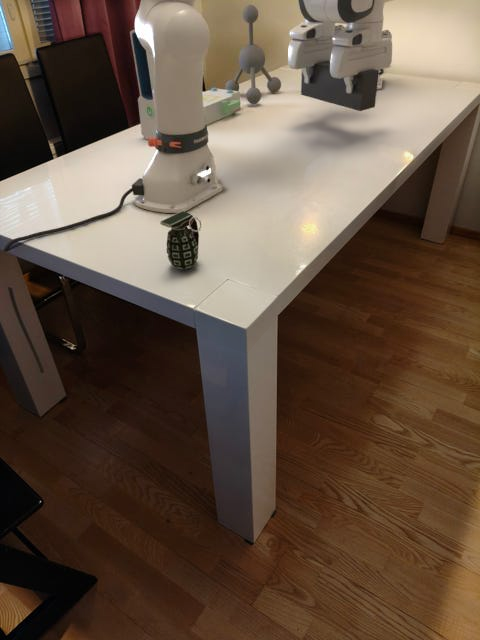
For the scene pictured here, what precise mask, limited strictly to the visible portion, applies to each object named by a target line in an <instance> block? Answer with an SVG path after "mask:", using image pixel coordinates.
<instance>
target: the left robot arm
mask: <svg viewBox="0 0 480 640" xmlns="http://www.w3.org/2000/svg"><path fill="white" fill-rule="evenodd" d="M385 1H386V0H298V6H299V10H300V13H301V15H302V17H303V19H304V18H305V19H306V20H307V21H309V22H329V23H335V24H341V25H343V24H344V25H345V24H346V26H344V27H345V28H344V29H343V28H342V29H343V30H341V31H340V32H338V33H337V34H335V35H334V36H333V40H332V42H333V44H335V46H334V47H333V49H332V52H331V59H330V74H331V76H332V77H334V78H339V79H340V78H344V81H345V84H346V92H347V93H353V92H354V89H355V86H353V85H352V81H351V80H353V75H358V73H359V72H363V71H368V70H372V69H375V70H379V71H381V70H380V69H383V70H385V69H388V68H389V67H390V66H391V64H392V59H393V40H392V39H393V35H392V33H391V31H390V30H389V29H384V30H383V28H384V18H385V17H384V7H385V4H386V2H385ZM195 3H196V0H140V3H139V8H138V10H137V13H136V15H135V19H134V29H135V31H136V34H137V37H138V39H139V41H140V43H141V45H142V46H143V48H144V49H145V50H146V51H147V52H149V53H150V54H152V55H153V57H154V64H155V82H154V90H153V101H154V108H155V114H156V121H157V128H158V129H157V130H156V138H152V137H150V138H149V139H147V146H149V147H151V148H152V147H154V148H155V151H154V153H153V155H152V157H151V159H150V162H149V163H148V165H147V167H146V169H145V172H144V173H143V176H142V178H138V179H137V180H136V181H134V182H133V183H132V184H131V188H129V189H128V190H127V191H125V193H124V194H123V195H122V196H121V198H120V201H119V204H118V206H117V207H116V208H114V209H112V210H111V211H109V212H106V213H102V214H98V215H95V216H92V217H90V218H86V219H84V220H80V221H78V222H74V223H71V224H68V225H64V226H60V227H56V228H51V229H47V230H43V231H38V232H35V233H32V234H28V235H23V236H19V237H16V238H13V239H11V240H10V241H8V242H7V243H6V244H5V246H4V248H3V250H2V252H3V253H5V252H8V251H9V250H10V248H11V246H13V245H14V244H16V243H18V242H23V241H27V240H30V239H33V238H37V237H42V236H46V235H49V234H55V233H59V232H63V231H66V230H70V229H73V228H76V227H79V226H80V227H81V226H83V225H86V224H89V223H91V222H94V221H97V220H100V219H103V218H107V217H110V216H113V215H114V214H116V213H118V212H119V211H120V210H121V209H122V207H123V206H124V202H125V200H126V198H127V197H128V196H129V195H130V194H132V195H133V196H137V197H135V199H134V205H135V206H137V207H138V208H140V209H142V210H143V209H144V210H147V211H151V212H157V213H164V214H177V213H179V212H181V211H184V212H187V211H189V210H190V209H193V208H194V207H196V206H198V205H199V204H201V203H203V202H205V201H207V200H208V199H210V198H212V197H214V196H215V195H217V194H219V193H220V192H222V191H223V185H222V184H220V183H219V180H218V174H217V168H216V163H215V156H214V155H213V153H212V152H211V149H210V147H209V145H208V143H209V130H208V126H207V125H205V119H204V107H203V93H202V92H203V84H204V72H205V62H206V55H207V53H208V51H209V48H210V45H211V31H210V28H209V25H208V23H207V21H206V19H205V18H204V17H203V16H202V15H201V14H200V12H199V11H198V10H197V9H195V8H194V6H195ZM347 24H348V26H347ZM7 290H8V294H9V295H8V296H9V298H10V302H11V304H12V307H13V311H14V313H15V316H16V318H17V322H18V323H19V326H20V329H21V330H22V332H23V335H24V337H25V339H26V341H27V343H28V346H29V348H30V350H31V352H32V354H33V356H34V359H35V361H36V364H37V366H38V367H37V368H38V369H39V372H40V373H41V374H44V373H45V370H44V368H43V365H42V363H41V360H40V357H39V355H38V353H37V350H36V348H35V346H34V343H33V341H32V339H31V337H30V335H29V333H28V330H27V328H26V326H25V323H24V321H23V319H22V316H21V314H20V311H19V308H18V305H17V302H16V298H15V295H14V290H13V287H9V286H7Z"/></svg>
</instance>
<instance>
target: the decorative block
mask: <svg viewBox="0 0 480 640" xmlns="http://www.w3.org/2000/svg"><path fill="white" fill-rule="evenodd" d="M202 93H203V107H204V119H205V125H206V126H207V125H210V124H212V123H215V122H217V121H219V120H221V119H224V118H226V117H228V116H230V115H233V114H235V111H238V110H240V109H241V92H240V90H239V91H232V90H225V88H224V89H222V88H216V87H212V88H211V89H208V90H205V91H202Z"/></svg>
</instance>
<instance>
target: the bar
mask: <svg viewBox="0 0 480 640" xmlns="http://www.w3.org/2000/svg"><path fill="white" fill-rule="evenodd" d="M308 72H309V75H310V76H312V82H311V83H308V84H307V83H305V82H304V79H305V76H304V75H303V73H302V72H301V79H300V80H301V81H300V82H301V83H300V84H301V85H300V95H301V96H304V97H307V98H310V99H315V100H319V101H322V102H326V103H329V104H333V105H336V106H340V107H344V108H348V109H352V110H354V111H358V112H362V111H367V110H369V109H373V108H376V101H377V91H378V89H377V83H378V75H379V72H380V70H375V69H372V70H368V71H363V72H359V73H358V75H353V80H351V81H352V85H353V86H355V89H354V92H353V93H347V92H346V84H345V81H344V78H340V79H339V78H334V77H332V76H331V74H330V61H325V62H321V63H316V64H315V65H314V66H312V67H310V71H308Z"/></svg>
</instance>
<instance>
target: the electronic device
mask: <svg viewBox="0 0 480 640" xmlns="http://www.w3.org/2000/svg"><path fill="white" fill-rule="evenodd" d="M129 34H130V42H131V47H132V54H133V60H134V61H133V62H134V65H135V72H136V79H137V86H138V90H139V97H138V98H137V103H138V113H139V123H140V129H141V130H140V131H141V135H142V136H143V138H144V139H146V140H148V139H149V138H150V137H152V138H156V130H157V129H158V128H157V121H156V114H155V108H154V101H153V90H154V82H155V64H154V57H153V55H152V54H150V53H149V52H147V51H146V50H145V49H144V48H143V46H142V45H141V43H140V41H139V39H138V37H137V34H136V31H135V28H134V29H132V30H130V31H129Z"/></svg>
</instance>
